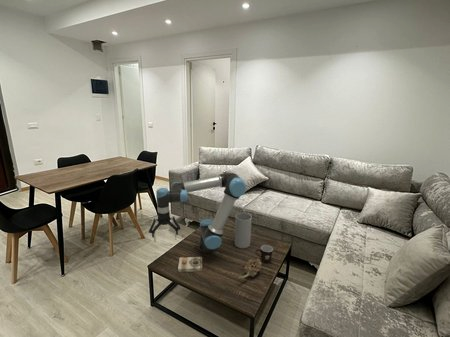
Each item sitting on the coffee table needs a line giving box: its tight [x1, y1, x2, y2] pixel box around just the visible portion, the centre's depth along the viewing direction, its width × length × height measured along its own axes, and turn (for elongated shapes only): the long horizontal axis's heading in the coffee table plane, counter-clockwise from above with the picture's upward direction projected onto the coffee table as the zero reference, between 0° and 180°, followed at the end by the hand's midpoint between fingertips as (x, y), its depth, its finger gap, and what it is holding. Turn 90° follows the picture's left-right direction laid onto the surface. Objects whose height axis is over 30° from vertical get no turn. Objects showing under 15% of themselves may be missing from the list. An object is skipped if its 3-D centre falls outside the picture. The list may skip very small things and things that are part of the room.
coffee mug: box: [255, 244, 274, 264], centre depth 175 cm, size 12×9×10 cm
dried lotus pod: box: [238, 258, 262, 280], centre depth 158 cm, size 22×10×10 cm, turn 144°
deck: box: [177, 256, 203, 273], centre depth 168 cm, size 16×12×2 cm
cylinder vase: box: [234, 212, 253, 249], centre depth 191 cm, size 12×12×25 cm
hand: (165, 240), depth 163 cm, fingers open, 13 cm apart
